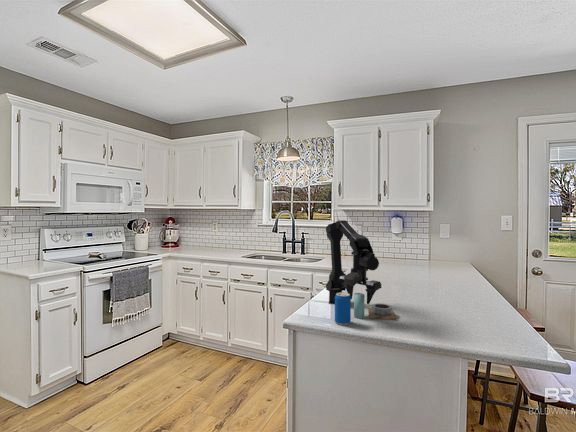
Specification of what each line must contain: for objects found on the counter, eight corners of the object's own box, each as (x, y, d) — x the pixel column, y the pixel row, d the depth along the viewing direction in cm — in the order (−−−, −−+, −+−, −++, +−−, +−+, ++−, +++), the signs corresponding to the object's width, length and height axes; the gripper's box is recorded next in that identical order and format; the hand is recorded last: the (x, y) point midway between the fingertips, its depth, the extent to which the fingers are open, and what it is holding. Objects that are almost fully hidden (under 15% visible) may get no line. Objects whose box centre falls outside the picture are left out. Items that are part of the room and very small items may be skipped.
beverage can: (339, 319, 139) (340, 291, 139) (353, 322, 135) (353, 293, 135) (331, 323, 134) (332, 294, 134) (345, 326, 130) (345, 297, 130)
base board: (369, 318, 140) (369, 316, 140) (368, 310, 151) (368, 308, 151) (396, 320, 138) (396, 317, 138) (392, 312, 149) (392, 310, 149)
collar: (372, 315, 141) (372, 308, 141) (371, 309, 150) (371, 303, 150) (392, 316, 140) (392, 309, 140) (390, 310, 148) (390, 304, 148)
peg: (354, 318, 140) (354, 295, 140) (353, 315, 145) (354, 292, 145) (364, 319, 140) (364, 295, 139) (363, 315, 144) (364, 293, 144)
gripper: (331, 265, 143) (330, 300, 144) (367, 271, 129) (366, 310, 130) (347, 262, 151) (346, 295, 151) (382, 268, 137) (381, 305, 137)
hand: (359, 301), depth 142 cm, fingers open, 9 cm apart
